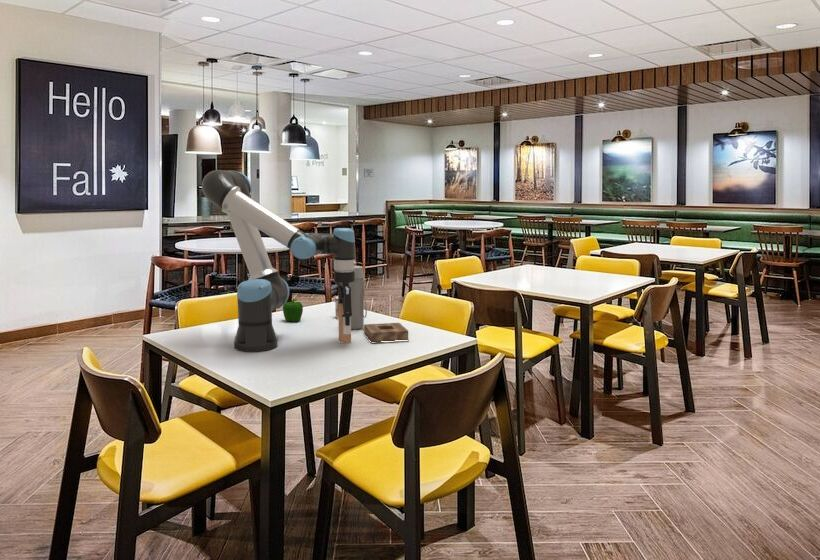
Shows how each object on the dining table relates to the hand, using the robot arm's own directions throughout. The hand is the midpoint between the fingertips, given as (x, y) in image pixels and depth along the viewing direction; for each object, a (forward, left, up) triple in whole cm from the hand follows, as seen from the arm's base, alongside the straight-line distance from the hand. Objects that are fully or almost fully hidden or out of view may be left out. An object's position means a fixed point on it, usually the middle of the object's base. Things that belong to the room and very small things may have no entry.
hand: (344, 330), depth 230 cm
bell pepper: (-16, +39, -4) cm, 42 cm away
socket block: (+16, +2, -4) cm, 17 cm away
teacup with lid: (+8, +40, -4) cm, 41 cm away
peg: (0, 0, -4) cm, 4 cm away
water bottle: (+8, +20, -4) cm, 22 cm away
